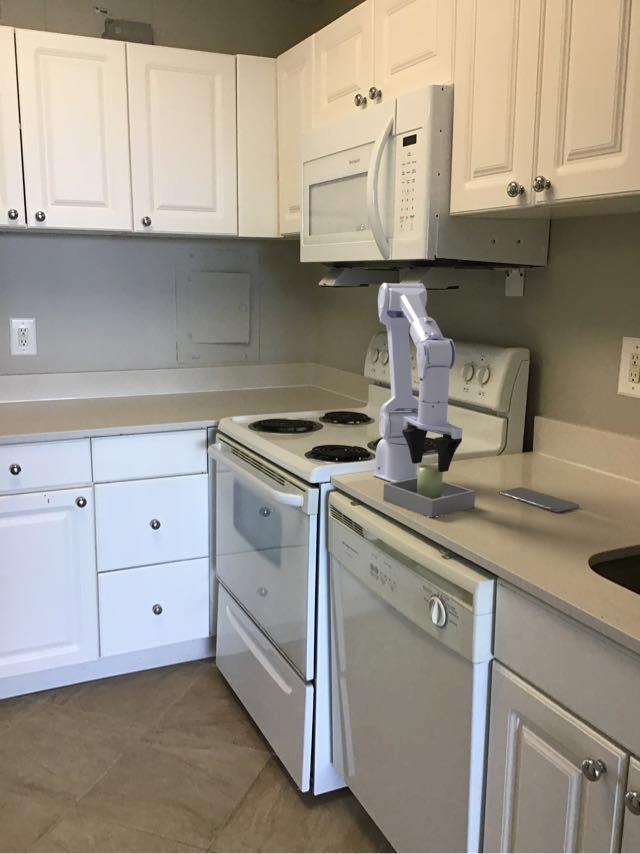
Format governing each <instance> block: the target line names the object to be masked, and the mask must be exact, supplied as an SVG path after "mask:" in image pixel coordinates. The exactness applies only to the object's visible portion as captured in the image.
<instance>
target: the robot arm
mask: <svg viewBox="0 0 640 854" xmlns="http://www.w3.org/2000/svg"><path fill="white" fill-rule="evenodd" d="M426 288H427V287H426V286H425V284H424V283H421V282H420V283H387V282H383V283H382V284H381V285H380V286H379V290H378V296H377V308H378V318H379V322H380V323H381V324H382V325H384V326H386V333H387V343H388V344H387V345H388V359H389V379H390V394H391V395H390V398H389V399H388V400H387V401H386V402H385V403H383V404H382V405H381V406H380V410H379V419H378V420H379V421H378V429H379V430H378V431H379V434H380V437H381V438H382V439H380V440H379V442H378V443H377V445H376V451H375V472H374V473H372V476H373V477H376V478H379V479H381V480H382V479H383V480H384V481H387V482H389V483H390V482H395V481H400V480H405V479H410V478H415V477H418V464H420V463H423V457H424V456H423V455H424V447H425V442H426V438H427V434H428V432H430V433H433V434H438V435H441V436H438V437H434V441H435V445H436V449H437V465H438V470H439V472H443V473H444V472H449V470H450V466H451V463H452V461H453V458H454V455H455V453H456V451H457V450H458V448H459V446H460V444H461V443H462V442H463V441H462V440H463V428H462V427H459V426H456V425H454V424H451V423H450V421H449V420H448V407H449V406H448V404H449V387H450V370H451V369H452V368H454V365H455V363H456V356H457V355H456V353H457V352H456V351H457V350H456V346H455V343H454V340H453V339H451V338H448V337H444V336H443V333H442V332H441V329H440V328H439V326H438V324H437V322H436V320H435V319H434V318H432V317H429V315H428V313H427V310H426V305H427V301H428V292H427V289H426ZM410 336H411V337H410ZM410 338H412V339H411V340H412V342H413V344H414V346H415V348H416V353H415V354H416V364H417V376H418V378H419V388H418V399H417V398H415V397H414V396H413V395H414V394H413V382H412V380H413V379H412V364H411V350H410V348H411V347H410Z"/></svg>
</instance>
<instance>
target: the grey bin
mask: <svg viewBox="0 0 640 854" xmlns="http://www.w3.org/2000/svg"><path fill="white" fill-rule="evenodd" d="M417 480H418V477H415V478H410V479H405V480H400V481H395V482H390V481H389V482H386V483H383V496H382V497H383V499H382V500H383V501H385V502H388V503H391V504H393V505H395V504H396V506H398V507H401V508H404V509H405V508H406V509H405V510H408V509H409V510H408V511H411V510H412V511H411V512H413V511H414V512H413V513H416V512H417V513H416V514H419V513H420V515H421V514H423V515H422V516H424V515H426V516H429V517H431V518H430V519H433V518H432V517H435V518H437V517H436V516H439V517H442V516H441V515H443V516H446V515H445V514H447V515H450V513H451V514H455V513H459V512H463V511H466V510H470V509H475V505H476V504H475V502H476V490H473V489H470V488H467V487H464V486H460V485H457V484H454V483H451V482H449V481H446V480H442V497H440V498H436V499H430V498H428V497H425V496H422V495H419V494H417ZM458 511H459V512H458ZM454 512H455V513H454ZM426 516H425V517H426ZM429 517H428V518H429Z"/></svg>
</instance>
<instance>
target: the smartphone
mask: <svg viewBox="0 0 640 854" xmlns="http://www.w3.org/2000/svg"><path fill="white" fill-rule="evenodd" d="M498 494H499V495H500V496H503V497H507V498H509V499H513V500H515V501H519V502H521V503H523V504H528V505H529V506H534V507H536V508H539V509H542V510H545V511H548V512H550V513H551V512H552V513H555V514H562V513H565V512H569V511H573V510H578V509H580V507H581V505H580V504H578V503H577V502H573V501H570V500H566V499H564V498H563V499H562V498H559V497H556V496H553V495H549V494H546V493H542V492H539V491H535V490H532V489H529V488H525V487H522V486H521V487H513V488H510V489H505V490H500V491H499V492H498Z"/></svg>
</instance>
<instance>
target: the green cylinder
mask: <svg viewBox="0 0 640 854" xmlns="http://www.w3.org/2000/svg"><path fill="white" fill-rule="evenodd" d="M417 475H418V480H417V494H419V495H422V496H425V497H428V498H430V499H436V498H440V497H442V481H443V475H444V472H439V470H438V464H420V465H417Z"/></svg>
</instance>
